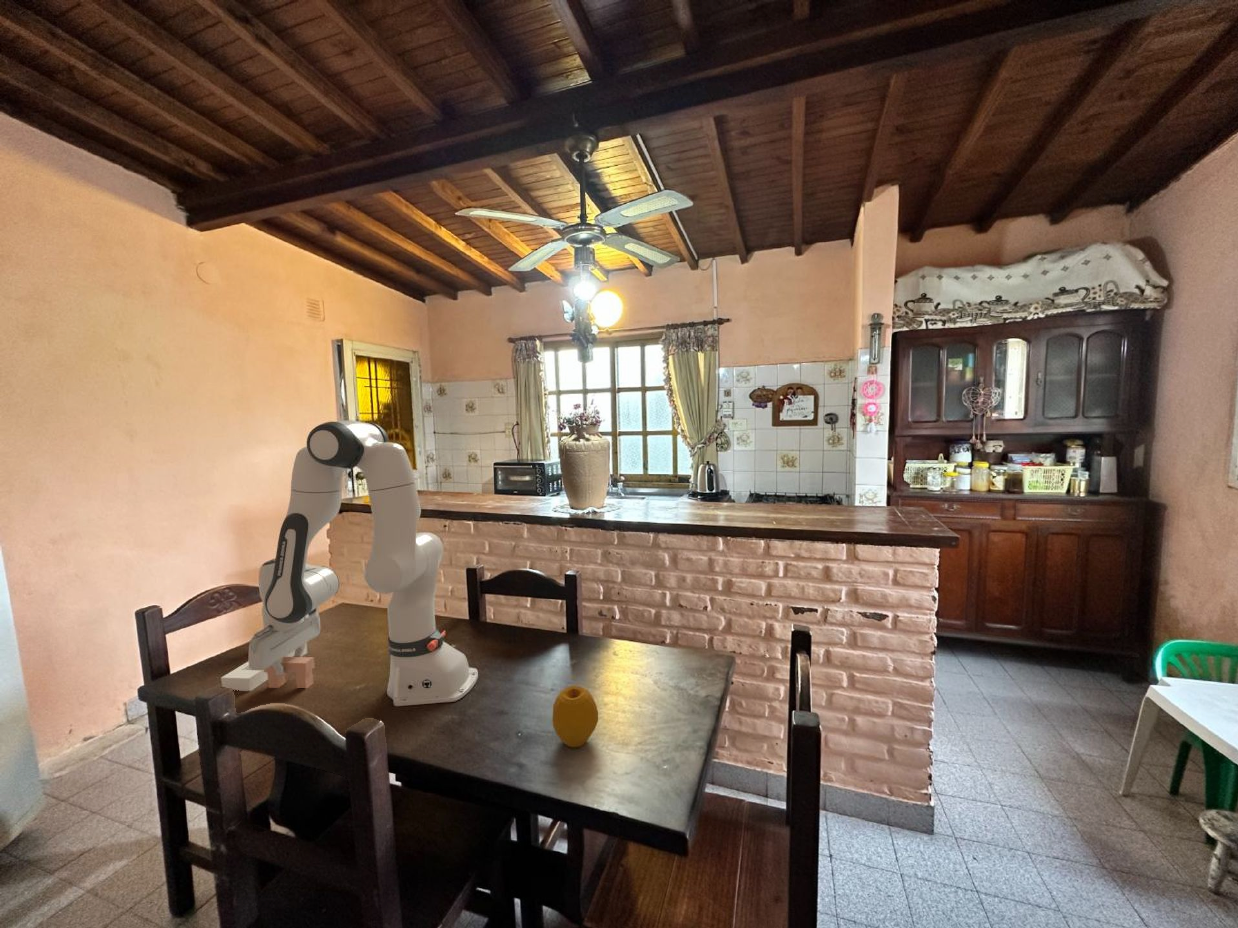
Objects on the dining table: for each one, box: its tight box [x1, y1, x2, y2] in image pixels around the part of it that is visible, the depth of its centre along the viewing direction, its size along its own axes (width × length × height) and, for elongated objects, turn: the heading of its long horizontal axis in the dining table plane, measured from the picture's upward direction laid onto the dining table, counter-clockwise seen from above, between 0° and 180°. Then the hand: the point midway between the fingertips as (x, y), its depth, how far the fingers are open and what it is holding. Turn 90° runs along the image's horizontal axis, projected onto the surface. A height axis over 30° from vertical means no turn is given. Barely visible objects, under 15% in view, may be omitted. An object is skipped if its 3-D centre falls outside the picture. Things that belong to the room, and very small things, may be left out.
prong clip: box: [264, 656, 316, 690], centre depth 126 cm, size 3×12×7 cm, turn 84°
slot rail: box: [220, 642, 308, 692], centre depth 135 cm, size 8×20×4 cm, turn 174°
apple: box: [552, 685, 599, 748], centre depth 101 cm, size 10×10×12 cm
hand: (289, 667), depth 126 cm, fingers open, 4 cm apart
